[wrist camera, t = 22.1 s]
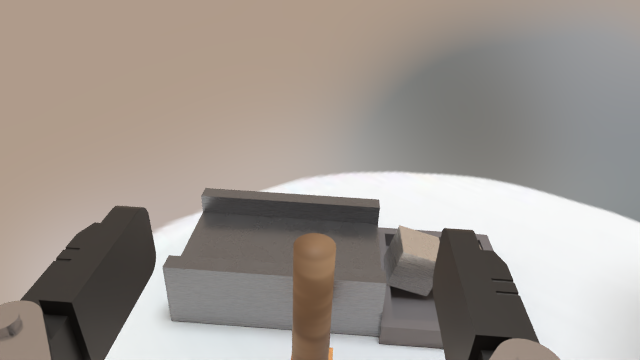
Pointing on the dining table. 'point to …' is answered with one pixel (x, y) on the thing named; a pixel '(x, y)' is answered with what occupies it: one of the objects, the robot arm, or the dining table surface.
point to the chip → (411, 260)
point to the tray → (411, 306)
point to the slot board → (275, 261)
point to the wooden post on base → (312, 296)
